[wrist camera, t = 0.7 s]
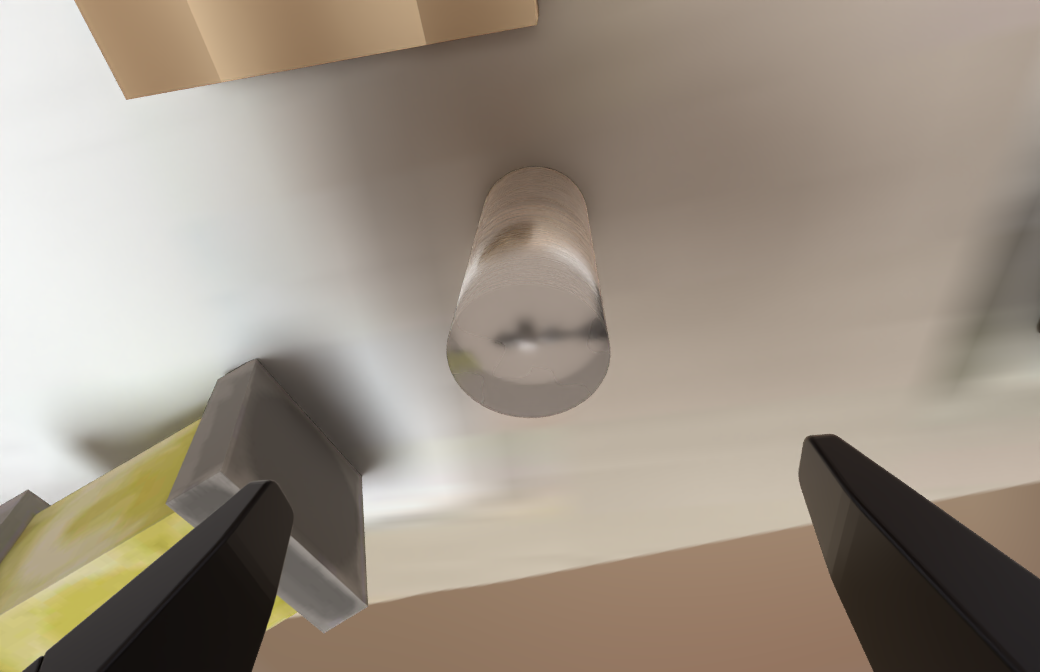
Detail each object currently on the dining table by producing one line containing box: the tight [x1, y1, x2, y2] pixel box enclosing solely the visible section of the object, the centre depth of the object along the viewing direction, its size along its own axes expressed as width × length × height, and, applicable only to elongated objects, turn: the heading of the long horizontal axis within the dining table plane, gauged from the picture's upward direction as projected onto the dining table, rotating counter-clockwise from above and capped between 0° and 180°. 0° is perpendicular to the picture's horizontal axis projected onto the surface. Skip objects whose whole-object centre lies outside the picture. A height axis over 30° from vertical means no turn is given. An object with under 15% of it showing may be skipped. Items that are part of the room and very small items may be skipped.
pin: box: [447, 166, 610, 418], centre depth 15 cm, size 4×4×8 cm
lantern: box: [0, 359, 368, 672], centre depth 25 cm, size 8×17×30 cm
